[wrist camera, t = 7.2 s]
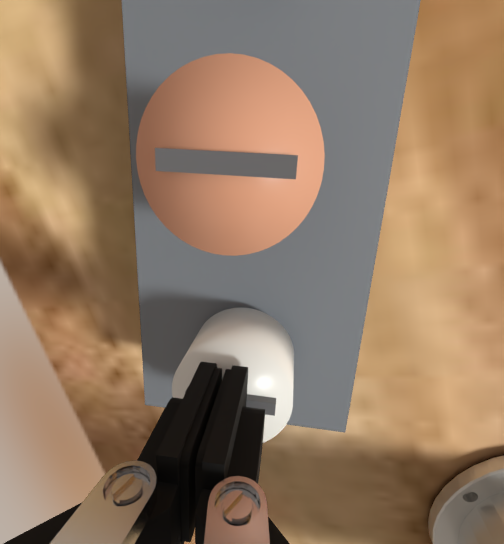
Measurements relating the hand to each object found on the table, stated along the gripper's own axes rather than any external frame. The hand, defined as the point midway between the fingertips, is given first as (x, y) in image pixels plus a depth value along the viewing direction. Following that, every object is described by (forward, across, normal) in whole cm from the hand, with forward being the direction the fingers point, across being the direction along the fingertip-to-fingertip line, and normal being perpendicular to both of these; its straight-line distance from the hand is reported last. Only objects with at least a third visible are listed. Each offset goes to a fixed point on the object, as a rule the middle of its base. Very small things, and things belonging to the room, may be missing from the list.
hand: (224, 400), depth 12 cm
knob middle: (+5, 0, -8) cm, 9 cm away
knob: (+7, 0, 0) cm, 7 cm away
